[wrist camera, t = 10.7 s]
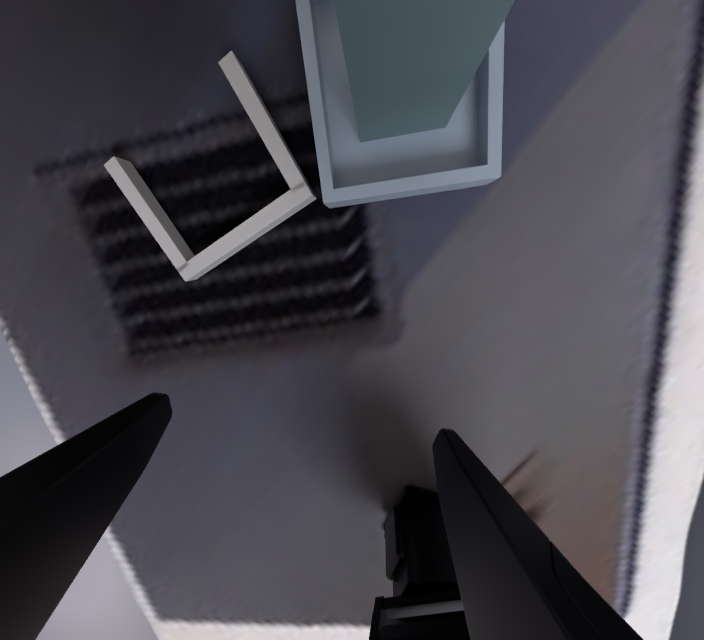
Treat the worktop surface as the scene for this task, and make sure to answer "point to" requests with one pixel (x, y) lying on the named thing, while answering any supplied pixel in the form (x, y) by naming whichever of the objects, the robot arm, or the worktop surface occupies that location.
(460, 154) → the tray
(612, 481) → the worktop surface
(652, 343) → the worktop surface
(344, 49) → the block
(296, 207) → the frame
